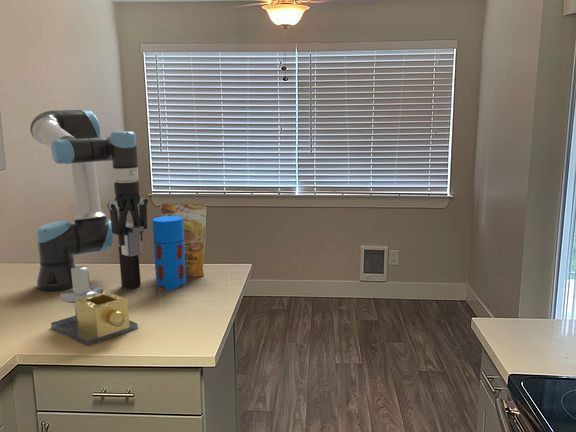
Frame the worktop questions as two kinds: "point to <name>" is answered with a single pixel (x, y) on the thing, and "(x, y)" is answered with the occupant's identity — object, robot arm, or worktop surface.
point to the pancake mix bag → (191, 233)
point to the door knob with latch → (93, 311)
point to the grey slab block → (133, 238)
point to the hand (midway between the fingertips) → (131, 253)
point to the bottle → (129, 270)
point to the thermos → (169, 252)
